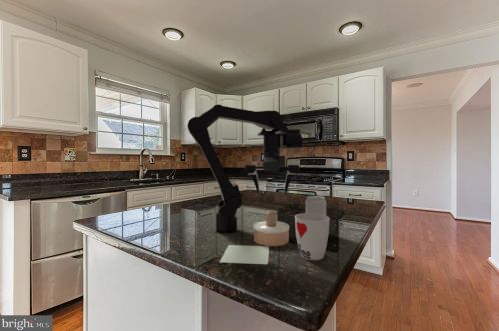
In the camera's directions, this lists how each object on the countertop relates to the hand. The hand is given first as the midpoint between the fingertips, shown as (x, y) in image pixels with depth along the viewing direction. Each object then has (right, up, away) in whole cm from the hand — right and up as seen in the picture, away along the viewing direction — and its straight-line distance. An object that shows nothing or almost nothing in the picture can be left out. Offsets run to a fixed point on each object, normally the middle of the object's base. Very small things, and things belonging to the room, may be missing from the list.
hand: (271, 194), depth 83 cm
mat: (-9, -13, -23) cm, 28 cm away
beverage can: (+13, -12, -6) cm, 19 cm away
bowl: (-1, -12, -13) cm, 18 cm away
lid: (-1, -8, -13) cm, 16 cm away
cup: (+7, -13, -25) cm, 29 cm away
